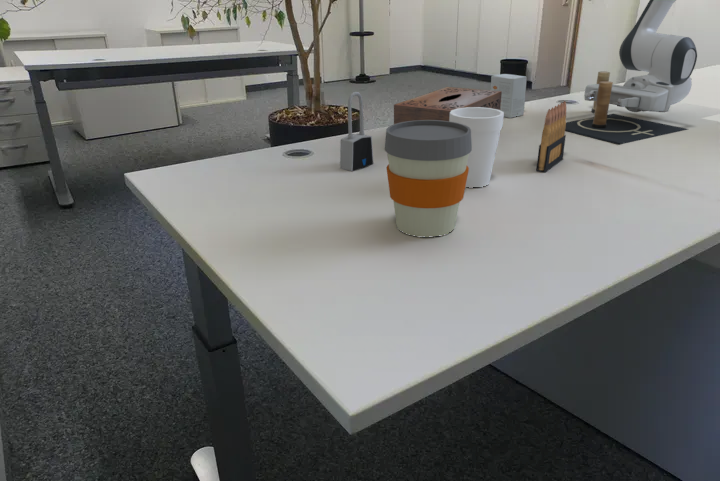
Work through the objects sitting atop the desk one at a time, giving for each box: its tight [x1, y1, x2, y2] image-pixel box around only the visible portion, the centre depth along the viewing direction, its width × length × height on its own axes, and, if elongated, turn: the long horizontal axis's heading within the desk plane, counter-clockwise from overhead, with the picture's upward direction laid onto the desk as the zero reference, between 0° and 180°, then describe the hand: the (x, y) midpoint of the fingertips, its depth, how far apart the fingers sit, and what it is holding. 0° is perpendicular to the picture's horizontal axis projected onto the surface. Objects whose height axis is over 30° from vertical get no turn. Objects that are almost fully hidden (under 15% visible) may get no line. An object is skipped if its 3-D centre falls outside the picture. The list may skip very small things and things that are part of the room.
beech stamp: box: [592, 80, 614, 128], centre depth 135 cm, size 3×3×11 cm
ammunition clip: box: [535, 100, 567, 173], centre depth 108 cm, size 11×2×12 cm, turn 144°
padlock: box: [339, 91, 374, 172], centre depth 110 cm, size 7×4×15 cm, turn 138°
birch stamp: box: [591, 70, 611, 113], centre depth 152 cm, size 3×3×11 cm
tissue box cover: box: [393, 86, 502, 124], centre depth 128 cm, size 26×14×10 cm, turn 145°
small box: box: [490, 73, 528, 119], centre depth 151 cm, size 8×6×10 cm
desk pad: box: [565, 113, 689, 146], centre depth 136 cm, size 22×24×1 cm
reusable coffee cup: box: [384, 120, 472, 237], centre depth 81 cm, size 13×13×15 cm
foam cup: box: [449, 107, 505, 189], centre depth 100 cm, size 10×9×13 cm
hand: (602, 100), depth 134 cm, fingers open, 8 cm apart
